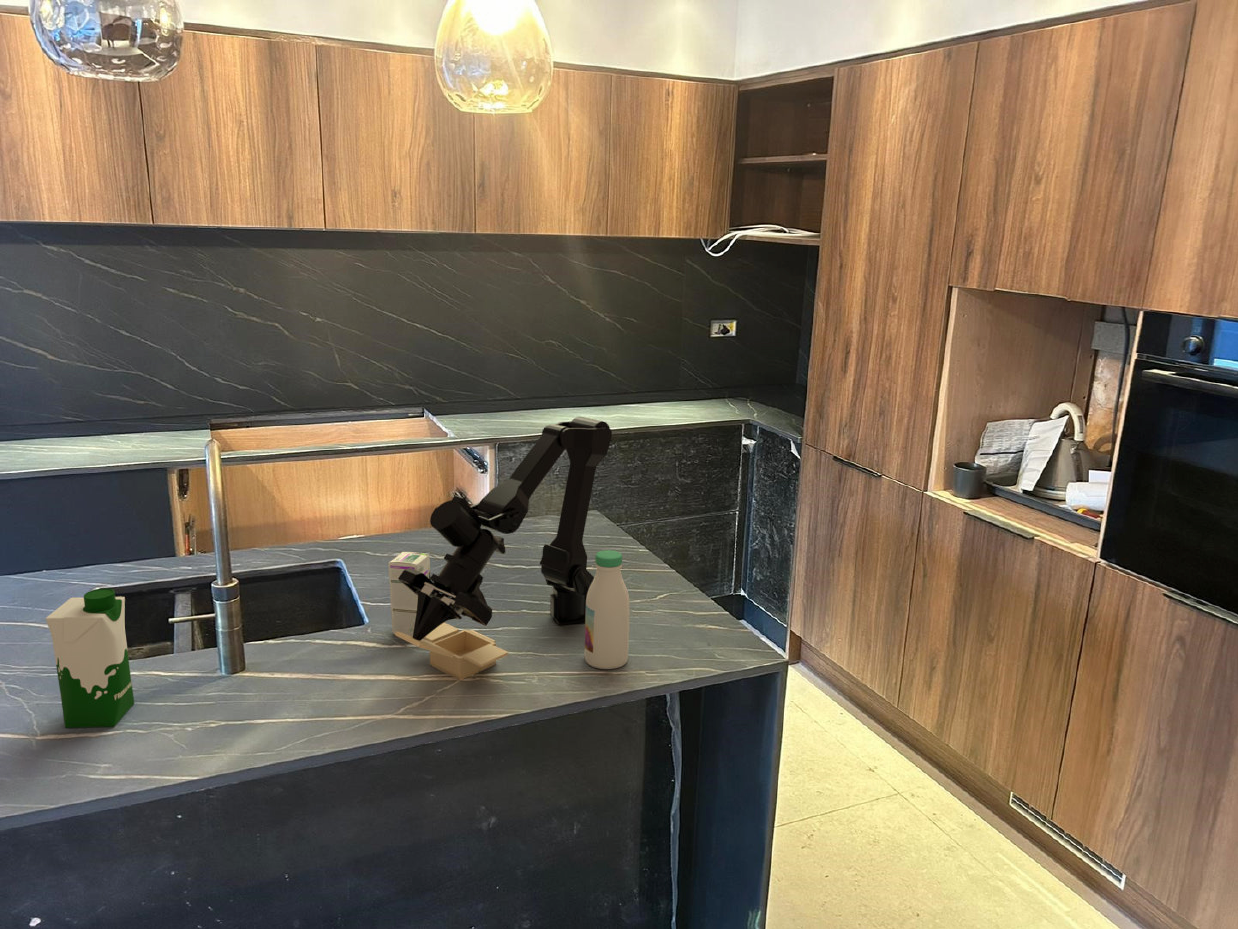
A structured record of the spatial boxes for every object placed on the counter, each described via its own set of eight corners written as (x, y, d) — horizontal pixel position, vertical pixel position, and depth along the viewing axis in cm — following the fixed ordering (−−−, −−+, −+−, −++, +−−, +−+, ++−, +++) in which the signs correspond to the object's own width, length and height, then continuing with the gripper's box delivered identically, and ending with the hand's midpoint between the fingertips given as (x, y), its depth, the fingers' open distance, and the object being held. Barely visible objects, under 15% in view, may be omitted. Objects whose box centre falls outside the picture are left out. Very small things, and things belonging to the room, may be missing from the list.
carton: (451, 640, 166) (451, 618, 165) (517, 671, 155) (517, 648, 154) (413, 656, 160) (412, 633, 158) (478, 690, 149) (478, 665, 148)
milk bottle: (633, 654, 162) (637, 549, 157) (619, 673, 155) (622, 564, 150) (593, 647, 165) (595, 543, 160) (577, 666, 158) (579, 558, 153)
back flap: (429, 642, 154) (396, 630, 148) (454, 653, 151) (420, 643, 144) (428, 645, 154) (394, 635, 148) (452, 657, 150) (418, 647, 144)
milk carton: (118, 730, 134) (101, 605, 129) (54, 731, 134) (35, 606, 128) (143, 700, 143) (128, 582, 138) (83, 701, 142) (66, 582, 137)
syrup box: (420, 638, 167) (418, 564, 163) (390, 634, 168) (387, 561, 164) (433, 625, 172) (431, 553, 168) (404, 621, 173) (401, 550, 169)
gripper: (530, 599, 153) (479, 679, 147) (458, 570, 165) (409, 644, 159) (496, 565, 145) (441, 649, 140) (423, 538, 157) (370, 614, 151)
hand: (415, 639), depth 148 cm, fingers closed, pressing on back flap
